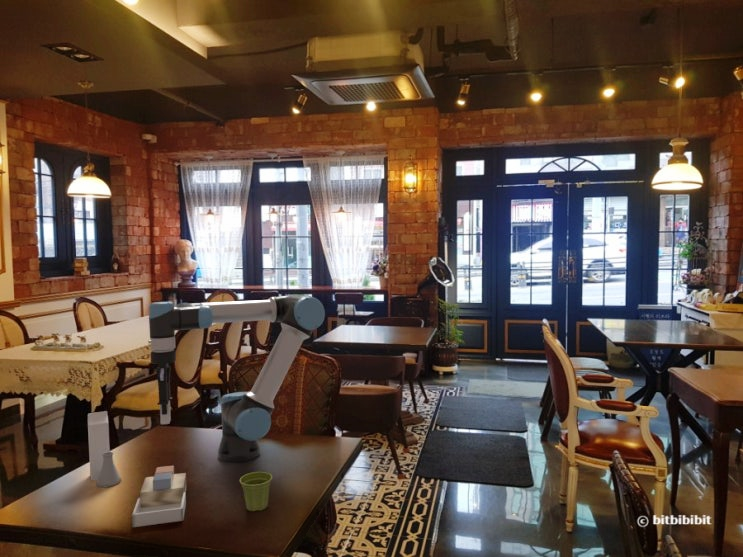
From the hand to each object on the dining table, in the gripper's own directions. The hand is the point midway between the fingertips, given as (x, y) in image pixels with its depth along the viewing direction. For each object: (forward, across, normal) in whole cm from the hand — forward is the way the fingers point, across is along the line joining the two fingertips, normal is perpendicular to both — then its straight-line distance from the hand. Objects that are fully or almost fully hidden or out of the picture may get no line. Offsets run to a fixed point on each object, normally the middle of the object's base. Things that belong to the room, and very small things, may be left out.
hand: (165, 422), depth 180 cm
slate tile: (+16, +14, 0) cm, 21 cm away
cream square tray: (+21, +11, 0) cm, 23 cm away
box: (+21, +22, 0) cm, 30 cm away
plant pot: (+21, +25, +27) cm, 42 cm away
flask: (+21, -7, -19) cm, 29 cm away
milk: (+21, -14, -23) cm, 34 cm away
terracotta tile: (+16, +8, 0) cm, 17 cm away
